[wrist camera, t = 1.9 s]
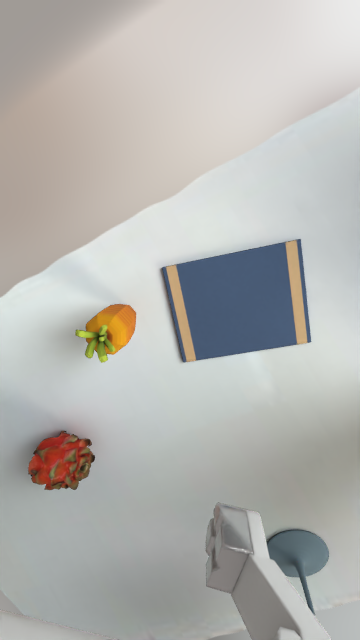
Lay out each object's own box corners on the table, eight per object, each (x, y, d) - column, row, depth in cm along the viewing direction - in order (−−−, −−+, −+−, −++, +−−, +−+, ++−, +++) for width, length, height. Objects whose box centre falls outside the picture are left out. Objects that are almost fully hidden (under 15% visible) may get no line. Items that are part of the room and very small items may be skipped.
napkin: (299, 239, 39) (300, 239, 38) (310, 341, 42) (311, 342, 42) (162, 267, 41) (162, 267, 41) (183, 361, 45) (183, 362, 44)
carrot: (107, 299, 43) (57, 333, 29) (139, 289, 42) (104, 319, 28) (119, 331, 44) (77, 379, 30) (151, 322, 43) (123, 367, 29)
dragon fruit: (109, 430, 51) (57, 446, 55) (71, 416, 45) (16, 435, 49) (106, 487, 46) (49, 500, 50) (63, 480, 40) (2, 495, 44)
